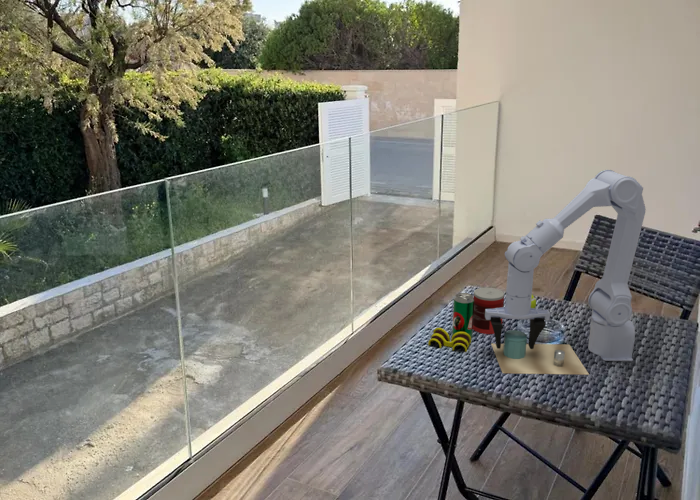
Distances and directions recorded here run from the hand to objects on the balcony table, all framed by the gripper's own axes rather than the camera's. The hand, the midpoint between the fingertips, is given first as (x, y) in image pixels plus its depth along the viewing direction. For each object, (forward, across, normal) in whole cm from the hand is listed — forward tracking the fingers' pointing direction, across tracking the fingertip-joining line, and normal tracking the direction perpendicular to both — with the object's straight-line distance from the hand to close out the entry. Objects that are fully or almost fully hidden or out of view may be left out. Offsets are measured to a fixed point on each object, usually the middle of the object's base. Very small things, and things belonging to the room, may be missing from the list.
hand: (514, 346), depth 145 cm
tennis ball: (+3, -8, -27) cm, 28 cm away
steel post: (+2, -9, +5) cm, 11 cm away
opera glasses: (+3, +15, -4) cm, 16 cm away
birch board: (+3, -5, +2) cm, 6 cm away
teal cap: (+2, 0, 0) cm, 2 cm away
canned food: (+3, +4, -15) cm, 16 cm away
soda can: (+3, +11, -10) cm, 15 cm away
